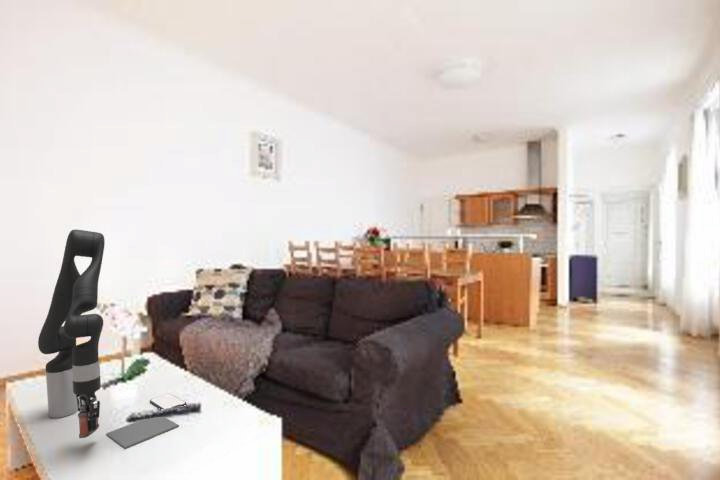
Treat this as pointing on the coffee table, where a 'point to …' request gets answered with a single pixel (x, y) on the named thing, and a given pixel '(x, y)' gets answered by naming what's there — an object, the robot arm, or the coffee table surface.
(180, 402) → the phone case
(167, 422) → the rubber mat
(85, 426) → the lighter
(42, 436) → the coffee table surface
